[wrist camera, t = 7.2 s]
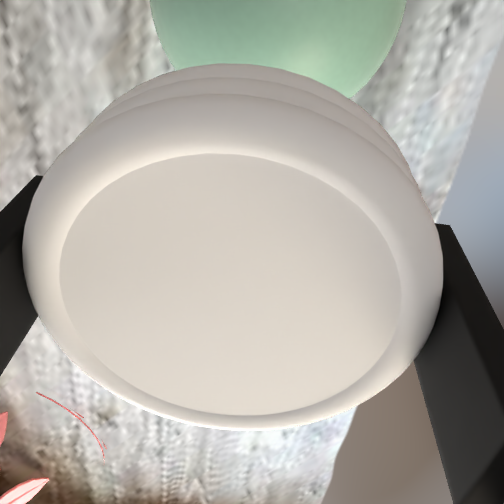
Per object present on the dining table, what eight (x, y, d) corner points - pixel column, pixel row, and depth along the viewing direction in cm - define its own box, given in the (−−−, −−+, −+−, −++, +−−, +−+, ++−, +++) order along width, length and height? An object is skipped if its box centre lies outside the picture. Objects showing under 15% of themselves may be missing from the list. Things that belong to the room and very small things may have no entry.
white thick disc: (465, 75, 11) (527, 131, 8) (373, 363, 17) (389, 455, 14) (40, 39, 11) (-48, 81, 8) (95, 336, 17) (55, 422, 14)
